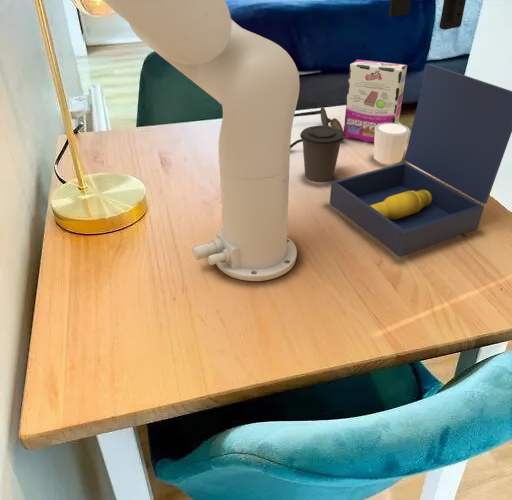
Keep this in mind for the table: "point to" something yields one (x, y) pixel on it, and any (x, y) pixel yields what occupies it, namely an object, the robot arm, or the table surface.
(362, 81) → the candy bar box
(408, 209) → the yellow lobed rod
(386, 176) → the blue shallow open box
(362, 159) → the table surface
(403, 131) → the white short cylinder
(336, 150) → the coffee cup
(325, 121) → the eyeglasses
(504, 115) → the lid
